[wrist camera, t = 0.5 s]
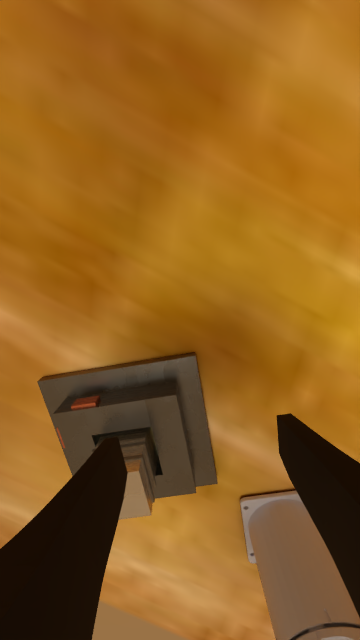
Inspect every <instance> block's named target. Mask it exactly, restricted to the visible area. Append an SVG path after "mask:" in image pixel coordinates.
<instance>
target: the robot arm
mask: <svg viewBox="0 0 360 640" xmlns="http://www.w3.org/2000/svg"><path fill="white" fill-rule="evenodd" d="M277 427H278V442H279V454H280V456H281V459H282V461H283V464H284V466H285V469H286V471H287V473H288V475H289V478H290V480H291V482H292V484H293V485H294V487H295V489H296V491H289V492H281V493H274V494H266V495H258V496H251V497H244V498H242V499H241V500H240V506H241V513H242V520H243V527H244V534H245V540H246V547H247V554H248V560H249V562H250V563H257V567H258V571H259V575H260V579H261V583H262V587H263V591H264V595H265V599H266V602H267V606H268V610H269V614H270V618H271V622H272V626H273V630H274V634H275V638H276V640H360V463H359V462H357V461H356V460H354V459H352V458H351V457H349V456H348V455H346V454H345V453H344V452H342V451H341V450H339V449H338V448H336V447H335V446H334V445H332V444H331V443H329V442H328V441H327V440H325V439H324V438H322V437H321V436H320V435H318V434H317V433H316V432H314V431H313V430H312V429H310V428H309V427H308V426H306V425H305V424H304V423H303V422H301V421H300V420H299V419H297V418H296V417H295V416H293V415H292V414H284V415H277ZM127 474H128V472H127V468H126V464H125V461H124V457H123V453H122V450H121V446H120V442H119V439H118V437H113V438H105V439H104V440H103V441H102V443H101V444H100V445H99V446H98V447H97V448H96V450H95V451H94V452H93V453H92V454H91V456H90V457H89V458H88V459H87V460H86V462H85V463H84V464H83V465H82V466H81V467H80V469H79V470H78V471H77V472H76V473H75V474H74V476H73V477H72V478H71V479H70V480H69V481H68V482H67V484H66V485H65V486H64V487H63V488H62V489H61V490H60V491H59V492H58V493H57V494H56V495H55V497H54V498H53V499H52V500H51V501H50V502H49V503H48V504H47V505H46V506H45V507H44V508H43V509H42V510H41V511H40V512H39V513H38V514H37V515H36V516H35V517H34V518H33V519H32V520H31V521H30V522H29V523H28V524H27V525H26V526H25V527H24V528H23V529H22V530H21V531H20V532H19V533H18V534H17V535H15V536H14V537H13V538H12V539H11V540H10V541H9V542H8V543H7V544H5V545H4V546H3V547H2V548H1V549H0V640H92V634H93V629H94V623H95V618H96V613H97V608H98V602H99V597H100V592H101V586H102V582H103V577H104V573H105V569H106V565H107V561H108V557H109V553H110V550H111V546H112V542H113V538H114V535H115V531H116V527H117V523H118V519H119V516H120V512H121V508H122V504H123V500H124V494H125V488H126V481H127Z"/></svg>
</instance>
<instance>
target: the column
mask: <svg viewBox="0 0 360 640" xmlns="http://www.w3.org/2000/svg"><path fill="white" fill-rule="evenodd" d="M113 437H118V439H119V442H120V446H121V450H122V453H123V457H124V461H125V464H126V468H127V472H128V474H127V481H126V488H125V494H124V500H123V504H122V508H121V512H120V516H119V519H127V518H135V517H142V516H150V515H151V512H152V504H153V502H154V501H155V497H154V487H156V480H155V478H156V469H157V460H158V452H157V448H156V444H155V440H154V436H153V432H152V428H151V427H144V428H138V429H131V430H124V431H118V432H111V433H104V434H101V436H100V439H99V441H98V443H97V445H96V447H95V449H93V450H92V452H91V453H93V452H94V451H95V450H96V448H97V447H98V446H99V445H100V444H101V443H102V441H103V440H104V439H105V438H113ZM119 519H118V520H119Z"/></svg>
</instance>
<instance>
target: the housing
mask: <svg viewBox="0 0 360 640" xmlns="http://www.w3.org/2000/svg"><path fill="white" fill-rule="evenodd" d="M37 382H38V385H39V387H40V390H41V393H42V395H43V398H44V401H45V403H46V406H47V409H48V411H49V414H50V417H51V419H52V422H53V425H54V427H55V430H56V433H57V435H58V438H59V441H60V443H61V446H62V449H63V451H64V454H65V457H66V459H67V462H68V465H69V467H70V470H71V473H72V475H73V476H74V474H75V473H76V472H77V471H78V470H79V469H80V467H81V466H82V465H83V464H84V463H85V462H86V460H87V459H88V458H89V457H90V456H91V454H92V453H91V452H92V450H93V449H95V447H96V445H97V443H98V441H99V439H100V436H101V434H104V433H111V432H118V431H124V430H131V429H138V428H144V427H151V428H152V432H153V436H154V440H155V444H156V448H157V452H158V460H157V469H156V478H155V480H156V487H154V497H155V498H162V497H170V496H177V495H185V494H192V493H196V487H197V486H204V485H212V484H218V483H217V477H216V471H215V466H214V460H213V454H212V448H211V442H210V437H209V431H208V425H207V419H206V413H205V408H204V402H203V396H202V390H201V384H200V378H199V373H198V367H197V361H196V355H195V352H192V353H186V354H180V355H174V356H168V357H162V358H156V359H150V360H144V361H138V362H131V363H125V364H119V365H113V366H107V367H101V368H95V369H89V370H83V371H76V372H70V373H64V374H58V375H52V376H46V377H42V378H41V379H40V380H39V381H37Z"/></svg>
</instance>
